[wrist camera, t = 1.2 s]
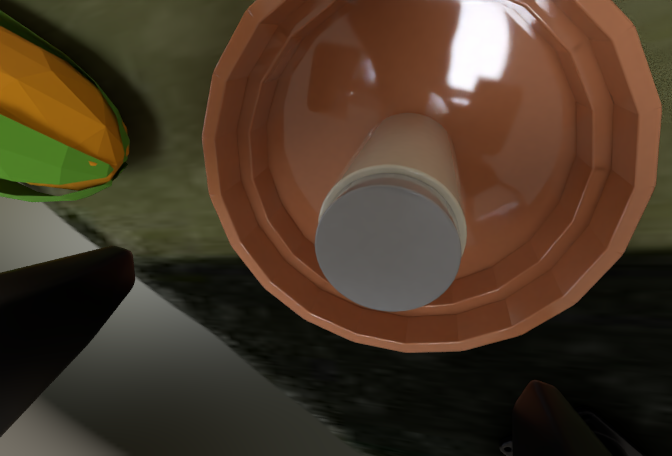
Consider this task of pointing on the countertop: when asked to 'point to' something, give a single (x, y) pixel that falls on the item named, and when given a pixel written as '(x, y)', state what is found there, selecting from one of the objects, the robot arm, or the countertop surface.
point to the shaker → (395, 217)
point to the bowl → (468, 138)
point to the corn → (53, 122)
